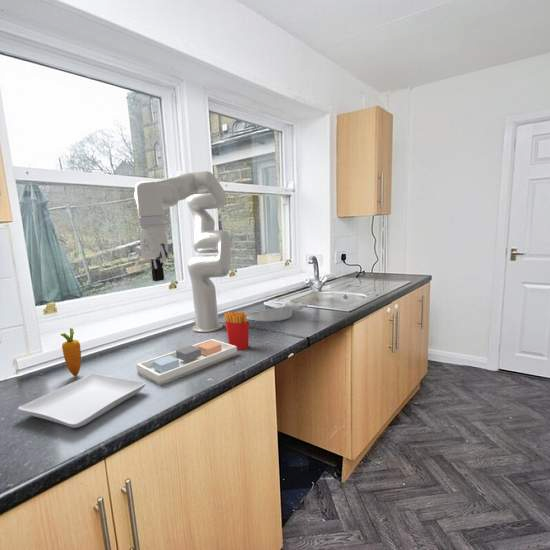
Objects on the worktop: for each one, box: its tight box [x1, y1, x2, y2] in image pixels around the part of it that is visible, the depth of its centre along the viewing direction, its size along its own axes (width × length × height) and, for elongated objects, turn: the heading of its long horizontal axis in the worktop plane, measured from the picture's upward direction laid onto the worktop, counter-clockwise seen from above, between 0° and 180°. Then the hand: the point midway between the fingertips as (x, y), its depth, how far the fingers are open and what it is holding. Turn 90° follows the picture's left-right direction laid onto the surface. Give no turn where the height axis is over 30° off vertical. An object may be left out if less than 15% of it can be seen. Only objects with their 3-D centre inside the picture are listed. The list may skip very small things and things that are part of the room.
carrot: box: [60, 328, 82, 377], centre depth 106 cm, size 5×5×15 cm
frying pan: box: [245, 301, 308, 323], centre depth 157 cm, size 23×33×10 cm
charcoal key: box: [175, 345, 201, 362], centre depth 111 cm, size 6×6×2 cm
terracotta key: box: [198, 341, 222, 356], centre depth 116 cm, size 6×6×2 cm
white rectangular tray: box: [136, 338, 238, 387], centre depth 111 cm, size 14×28×3 cm, turn 136°
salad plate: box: [17, 373, 147, 429], centre depth 88 cm, size 21×21×3 cm
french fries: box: [223, 311, 250, 351], centre depth 123 cm, size 9×4×13 cm, turn 61°
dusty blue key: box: [153, 356, 179, 373], centre depth 105 cm, size 6×6×2 cm
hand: (158, 280), depth 111 cm, fingers closed
